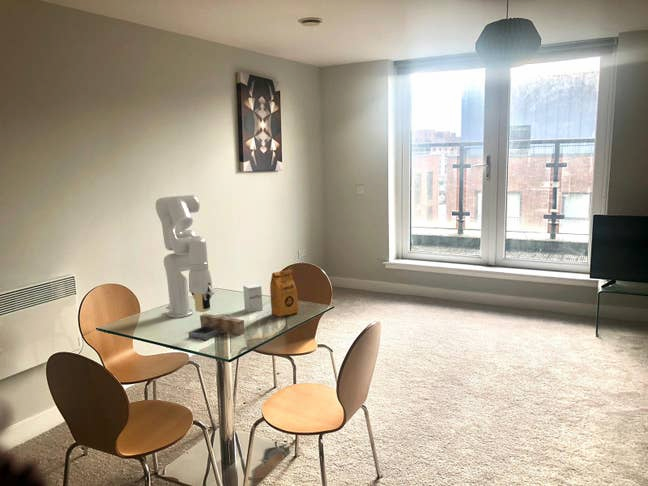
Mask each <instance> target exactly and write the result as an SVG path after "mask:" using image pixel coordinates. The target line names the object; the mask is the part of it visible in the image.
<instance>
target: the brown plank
mask: <svg viewBox="0 0 648 486" xmlns="http://www.w3.org/2000/svg"><path fill="white" fill-rule="evenodd" d="M199 321H200V327H203V326H209V327H215V328H220V329H221V331H223V333H226V334H227V333H228V334H233V335H238V336H242V335H244V334H246V330H245V329H246V328H245V320H244V319H241V318H240V319H239V318H234V317H233V318H232V317H227V316H222V315H214V314H208V313H203V314H200V316H199Z"/></svg>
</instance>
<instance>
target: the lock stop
mask: <svg viewBox="0 0 648 486" xmlns="http://www.w3.org/2000/svg"><path fill="white" fill-rule="evenodd" d="M206 296H207V294H206ZM194 298H195V299H194ZM194 298H193V299H194V306H195V307H194V308H195V312H199V313H205V312H207V311H210V310H211V307H210V308H208V309H204V301H203V300H204V296H203V294H197V293H194Z"/></svg>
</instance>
